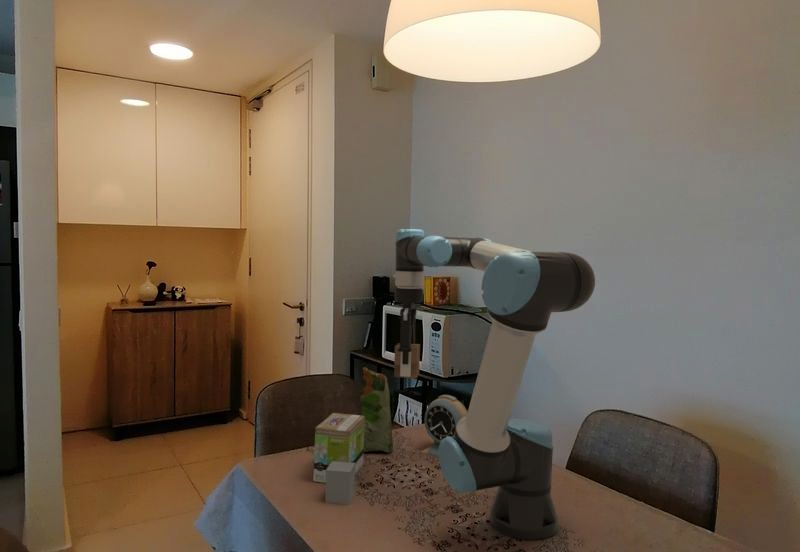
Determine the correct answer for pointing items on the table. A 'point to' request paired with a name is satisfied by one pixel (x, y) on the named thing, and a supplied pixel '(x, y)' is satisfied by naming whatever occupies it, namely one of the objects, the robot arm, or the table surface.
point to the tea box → (338, 443)
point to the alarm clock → (442, 420)
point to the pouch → (376, 412)
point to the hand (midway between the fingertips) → (407, 373)
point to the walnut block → (414, 361)
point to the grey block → (340, 482)
